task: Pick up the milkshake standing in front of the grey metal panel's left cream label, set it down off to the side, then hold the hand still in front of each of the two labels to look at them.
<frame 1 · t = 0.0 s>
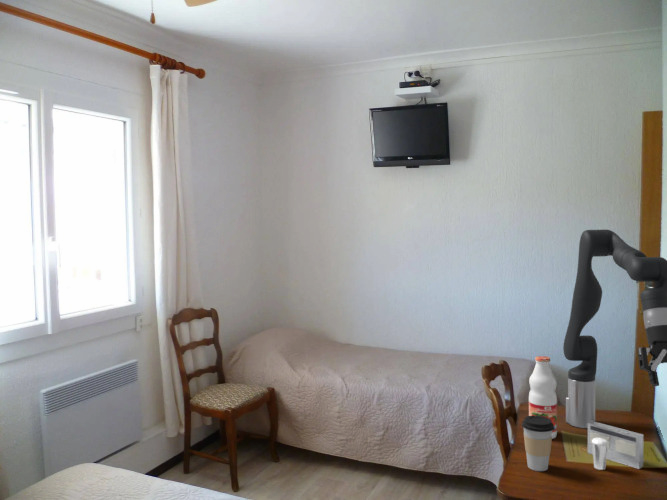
fruit juice: (542, 435, 200), on the table
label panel: (614, 459, 178), on the table
milkshake: (601, 468, 173), on the table
coffee cup: (537, 467, 174), on the table
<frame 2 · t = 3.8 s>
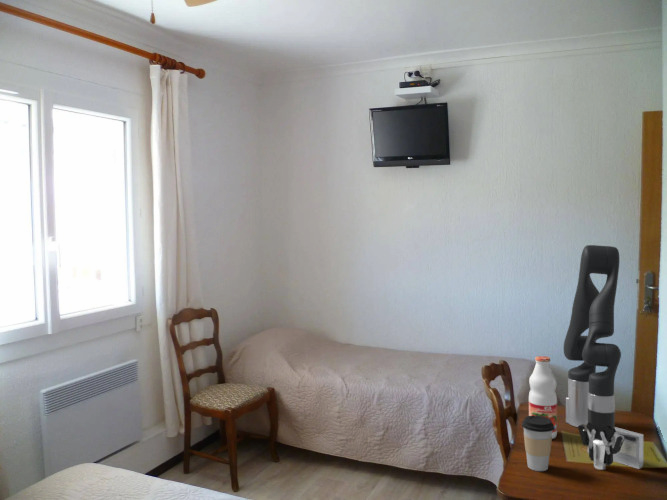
hand: (600, 462, 173), 2 cm above the table, tool pointing down, fingers closed on milkshake, 4 cm apart
milkshake: (601, 468, 173), on the table, touching gripper
everything else where it was.
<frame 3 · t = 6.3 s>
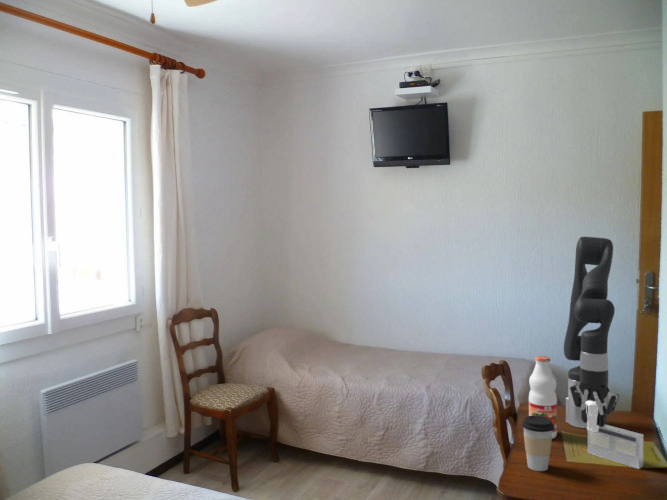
hand: (593, 424, 165), 16 cm above the table, tool pointing down, fingers closed on milkshake, 4 cm apart
milkshake: (594, 430, 165), point 15 cm above the table, touching gripper
everything else where it was.
when the fingers open (3 cm above the table, at t = 9.0 s): milkshake drops 1 cm, on the table.
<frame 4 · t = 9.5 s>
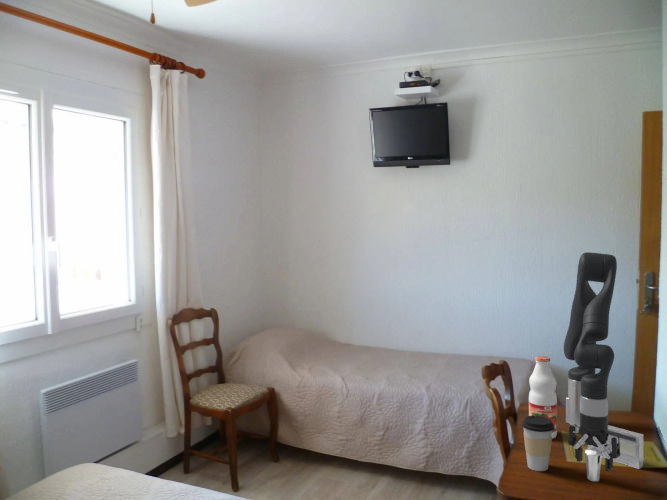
hand: (593, 465, 165), 4 cm above the table, tool pointing down, fingers open, 8 cm apart
milkshake: (594, 479, 165), on the table
everything else where it was.
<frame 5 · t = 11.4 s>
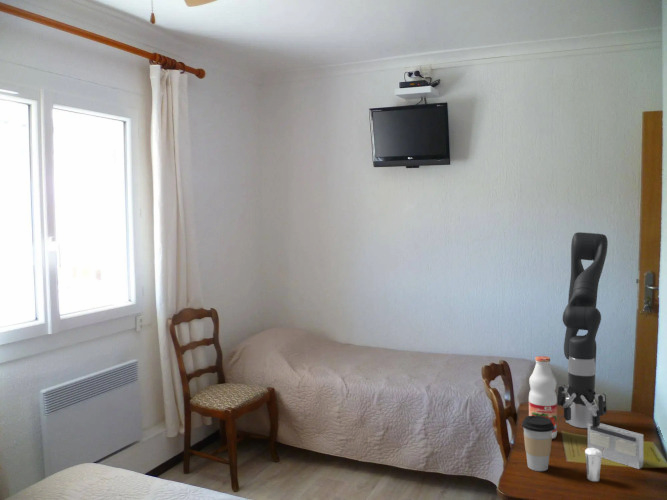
hand: (581, 423, 172), 14 cm above the table, tool pointing down, fingers open, 8 cm apart
nothing on the table moved.
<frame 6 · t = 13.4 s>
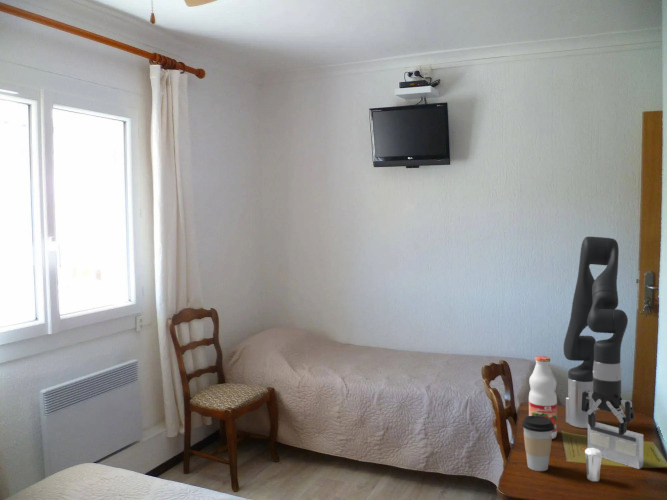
hand: (606, 430, 166), 14 cm above the table, tool pointing down, fingers open, 8 cm apart
nothing on the table moved.
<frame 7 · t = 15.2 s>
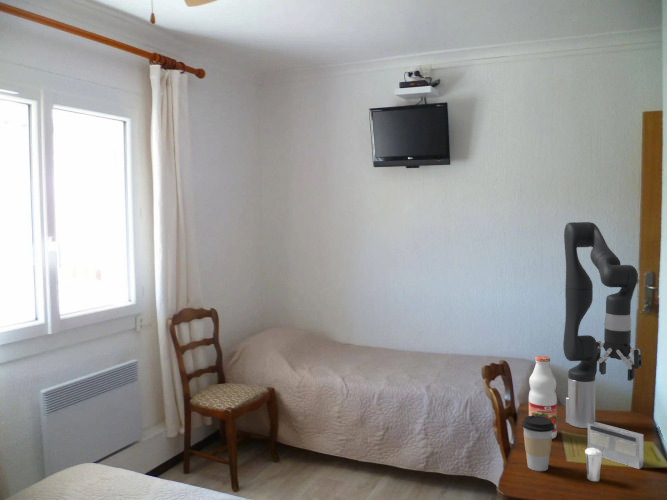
hand: (616, 377, 180), 26 cm above the table, tool pointing down, fingers open, 8 cm apart
nothing on the table moved.
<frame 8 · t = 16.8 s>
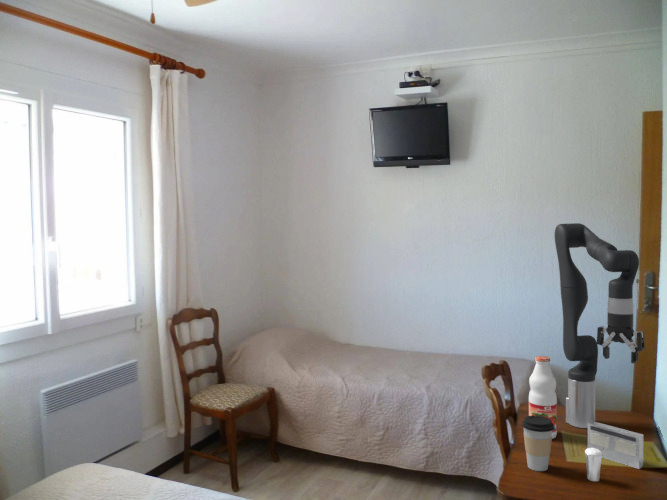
hand: (620, 360, 184), 30 cm above the table, tool pointing down, fingers open, 8 cm apart
nothing on the table moved.
at the end: milkshake inside the target area (0.3 cm from its centre), on the table; milkshake tilted 0°; the gripper is holding nothing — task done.
